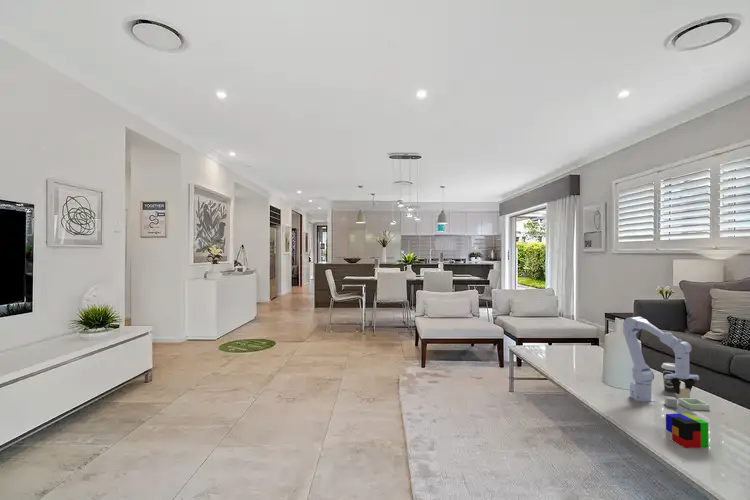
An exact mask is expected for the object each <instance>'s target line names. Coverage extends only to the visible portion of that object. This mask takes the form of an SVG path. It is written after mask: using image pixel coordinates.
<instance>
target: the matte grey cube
mask: <svg viewBox="0 0 750 500" xmlns="http://www.w3.org/2000/svg"><path fill="white" fill-rule="evenodd" d="M664 404H665V405H666V406H667V407H666V406H665V407H666V408H668V407H676V408H677V405H678V398H676V397H674V396H668V395H667V396H666V395H664Z"/></svg>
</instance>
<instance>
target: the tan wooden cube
mask: <svg viewBox="0 0 750 500" xmlns="http://www.w3.org/2000/svg"><path fill="white" fill-rule="evenodd" d="M674 394H675V396H676V397H678V398H691V391H690V389H689V388H687V387H685V385H684V386H683V385H680V393H679V394H677V393H674Z"/></svg>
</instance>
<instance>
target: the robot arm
mask: <svg viewBox="0 0 750 500" xmlns="http://www.w3.org/2000/svg"><path fill="white" fill-rule="evenodd" d="M640 330H645V331H647V332H649V333H651V334H652V335H654V336H656V337H658V338H659V341H660V342H661V343H663V344H664V345H666V346H668V347H669V348H671V349H672V351H673V353H674V358H675V359H674V364H675V374H666V378H667V379H670V380H671V382H672V384H673V386H674V389H675V393H677V394H679V393H680V386H681V383H682V381H681V380H683V382H684V386H685V387H687V388H689V389H690V392H691V391H692V388H693V386H694V385H695V384H696V380H697V381H700V376H699V375H698V374H690V353H691V352H692V351H693V350H692V349H693V348H692V345H691V344H690V343H689V342H688V341H686V340H684V341H683V340H682V339H681V338H677V337H676V336H675V335H673V333H672V332H668V331H667V332H664V331H662V330H661V329H659V328H658V327H656V326H655V325H653V324H652V323H651V322H649V321H648V319H645V318H644V317H642V316H632V317H631V316H630V317H626V318H625V319H624V321H623V336H624V338H625V341H626V345H627V348H628V351H629V353H630V354H629V355H630V357H631V359H632V363H633V367H632V368H631V370H632V378H633V380H634V382H631V383H630V384H629V397H630V398H632V399H633V400H635V401H637V402H656V400H655V399H653V398H652V383H653V382H652V381H653V380H654V379H655V374H654V372H653V371H652V370H651V367H650V366H649V365H648V364H647V363H646V361H645V359H644V355H643V352H642V349H641V347H640V344H639V339H638V337H637V333H639V331H640ZM678 379H680V381H679V380H678ZM675 393H674V394H675Z"/></svg>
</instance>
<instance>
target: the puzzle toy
mask: <svg viewBox="0 0 750 500" xmlns="http://www.w3.org/2000/svg"><path fill="white" fill-rule="evenodd" d="M666 437H667V439H668V438H669V439H668V440H670V439H671V440H670V441H672V440H673V441H674V443H675V442H676V444H677V445H678V446H681V447H683V448H685V449H697V448H698V449H700V448H709V422H708V421H705V420H703V419H701V418H699V417H696V415H690V414H688V413H682V414H678V413H666V414H665V438H666ZM673 441H672V442H673Z"/></svg>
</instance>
